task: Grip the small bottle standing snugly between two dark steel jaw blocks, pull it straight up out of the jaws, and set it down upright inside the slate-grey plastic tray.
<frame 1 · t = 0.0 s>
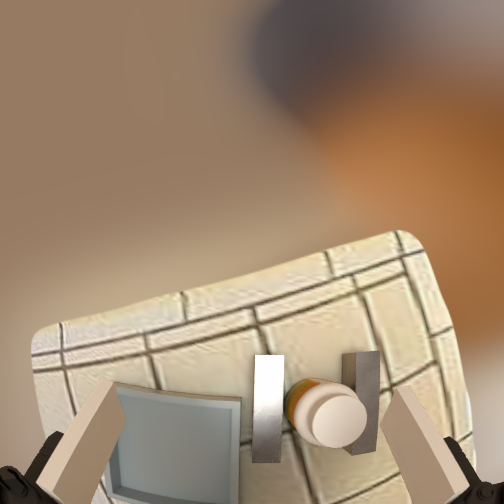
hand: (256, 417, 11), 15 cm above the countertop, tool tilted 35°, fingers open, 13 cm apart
supplement bottle: (309, 403, 25), on the countertop
steel jaws: (310, 403, 25), on the countertop
grey tray: (173, 451, 22), on the countertop
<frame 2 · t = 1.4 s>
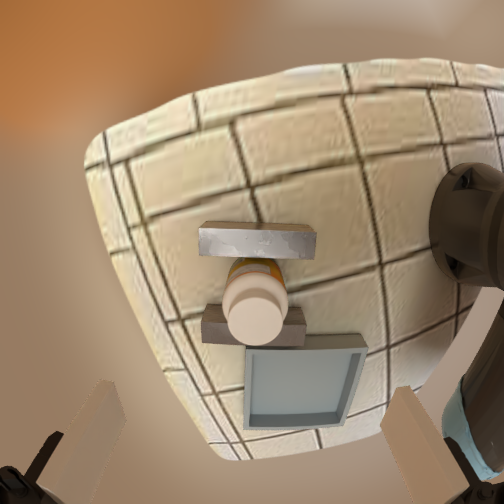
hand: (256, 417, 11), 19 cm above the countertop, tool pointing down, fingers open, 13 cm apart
supplement bottle: (255, 276, 29), on the countertop
steel jaws: (255, 277, 29), on the countertop
grey tray: (298, 379, 32), on the countertop
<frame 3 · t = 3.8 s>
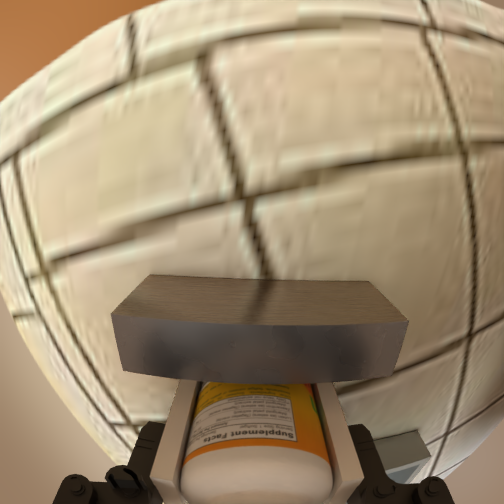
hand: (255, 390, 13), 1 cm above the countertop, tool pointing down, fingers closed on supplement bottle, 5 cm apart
supplement bottle: (255, 377, 14), on the countertop, touching gripper
steel jaws: (255, 380, 14), on the countertop
grey tray: (319, 486, 17), on the countertop
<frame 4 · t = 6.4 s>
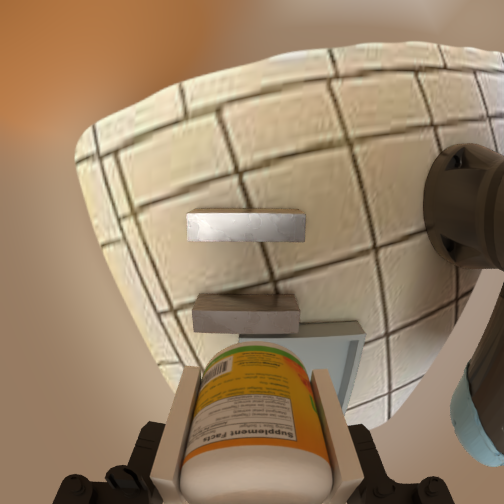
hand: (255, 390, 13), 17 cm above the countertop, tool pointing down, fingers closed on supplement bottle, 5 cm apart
supplement bottle: (255, 377, 14), point 16 cm above the countertop, touching gripper
steel jaws: (246, 264, 29), on the countertop
grey tray: (296, 370, 32), on the countertop
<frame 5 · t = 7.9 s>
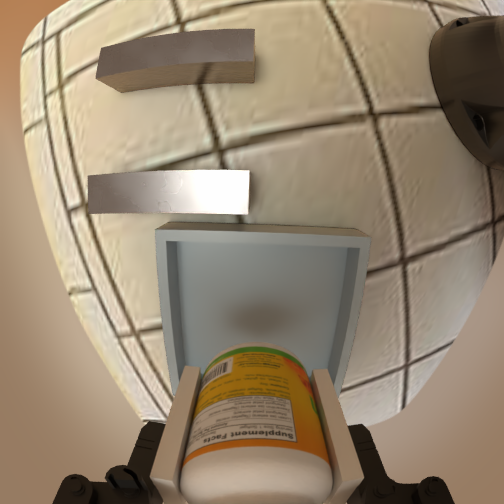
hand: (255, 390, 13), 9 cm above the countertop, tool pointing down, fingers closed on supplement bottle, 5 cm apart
supplement bottle: (255, 378, 14), point 8 cm above the countertop, touching gripper
steel jaws: (180, 126, 18), on the countertop
grey tray: (259, 312, 21), on the countertop
when the fingers open (3 cm above the countertop, at t = 9.2 s): supplement bottle drops 2 cm, resting on grey tray.
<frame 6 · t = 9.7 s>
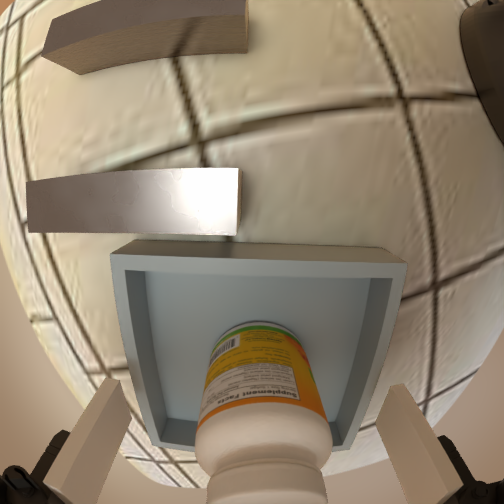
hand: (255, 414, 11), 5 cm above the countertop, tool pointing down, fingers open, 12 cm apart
supplement bottle: (257, 357, 16), resting on grey tray
steel jaws: (148, 112, 13), on the countertop
grey tray: (255, 354, 16), on the countertop
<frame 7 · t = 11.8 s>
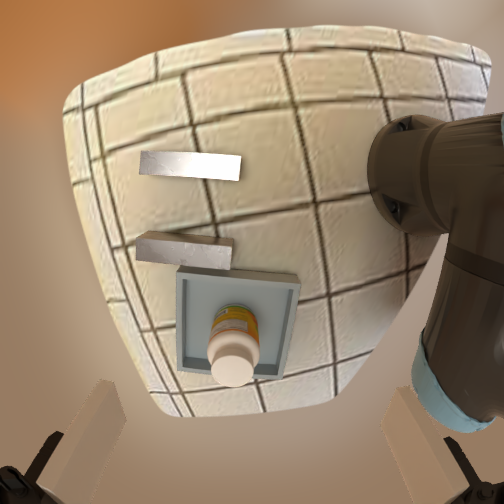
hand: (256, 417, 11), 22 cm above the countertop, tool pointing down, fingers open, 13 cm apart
supplement bottle: (235, 321, 34), resting on grey tray
steel jaws: (191, 205, 31), on the countertop
grey tray: (234, 320, 34), on the countertop
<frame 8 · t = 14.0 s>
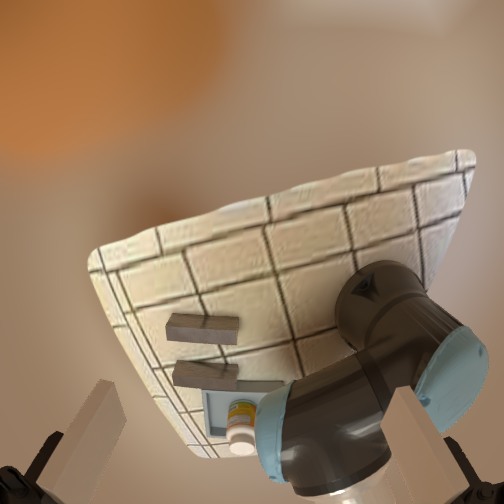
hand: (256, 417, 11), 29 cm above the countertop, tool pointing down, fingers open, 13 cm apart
supplement bottle: (243, 408, 46), resting on grey tray
steel jaws: (206, 346, 43), on the countertop
grey tray: (242, 406, 46), on the countertop
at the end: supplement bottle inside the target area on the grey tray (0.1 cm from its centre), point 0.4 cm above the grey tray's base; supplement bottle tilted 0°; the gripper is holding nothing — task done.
